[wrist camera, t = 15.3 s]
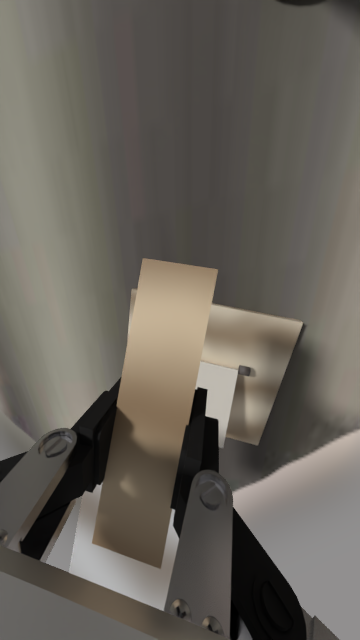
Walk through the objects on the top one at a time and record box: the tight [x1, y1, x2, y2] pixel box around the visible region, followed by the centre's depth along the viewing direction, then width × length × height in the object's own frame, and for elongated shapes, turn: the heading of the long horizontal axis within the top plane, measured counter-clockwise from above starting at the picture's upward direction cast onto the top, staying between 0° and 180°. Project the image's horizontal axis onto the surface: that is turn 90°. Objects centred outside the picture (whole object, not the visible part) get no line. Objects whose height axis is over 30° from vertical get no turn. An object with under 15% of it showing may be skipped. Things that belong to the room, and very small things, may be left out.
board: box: [127, 288, 303, 446], centre depth 25 cm, size 18×20×2 cm
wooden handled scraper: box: [69, 258, 218, 611], centre depth 10 cm, size 19×8×4 cm, turn 172°
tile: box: [195, 361, 238, 448], centre depth 24 cm, size 9×9×1 cm
